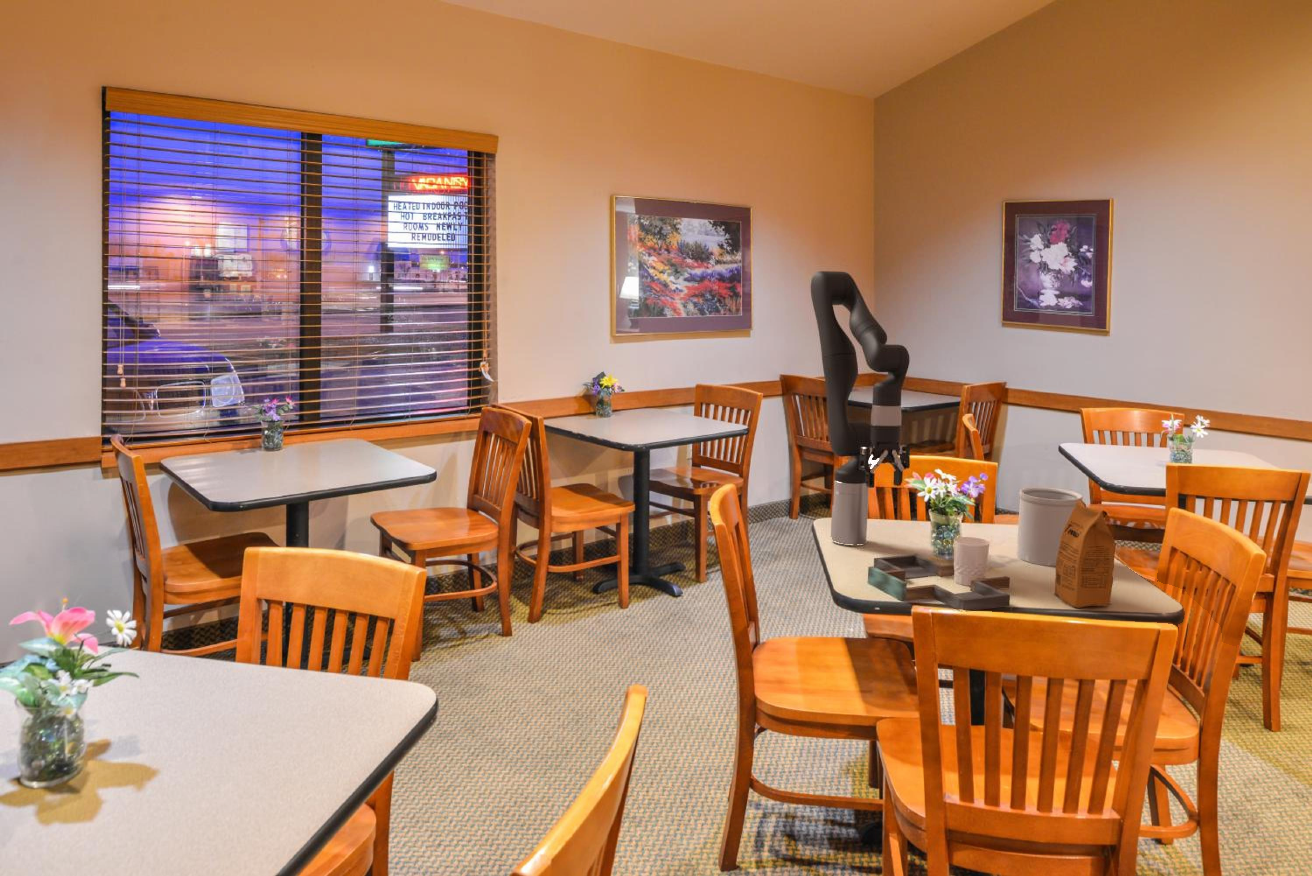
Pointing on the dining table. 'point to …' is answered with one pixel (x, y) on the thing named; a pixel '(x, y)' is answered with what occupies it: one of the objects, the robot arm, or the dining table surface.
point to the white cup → (970, 559)
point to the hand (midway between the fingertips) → (883, 486)
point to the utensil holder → (1043, 522)
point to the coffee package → (1085, 559)
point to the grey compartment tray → (898, 568)
